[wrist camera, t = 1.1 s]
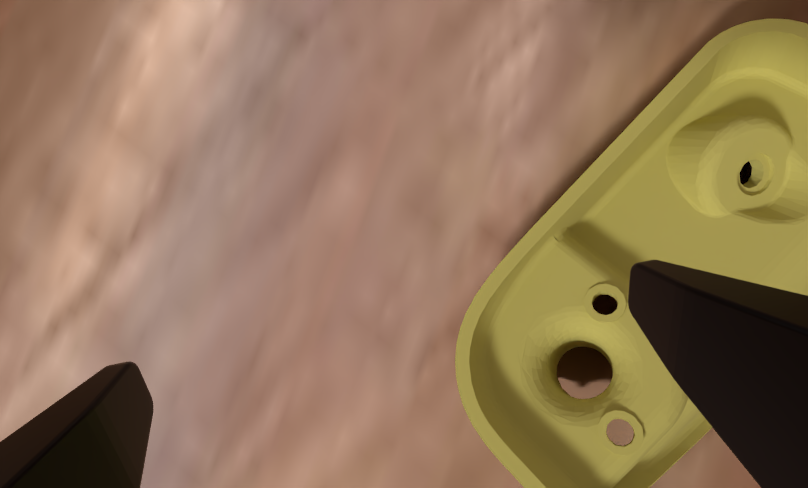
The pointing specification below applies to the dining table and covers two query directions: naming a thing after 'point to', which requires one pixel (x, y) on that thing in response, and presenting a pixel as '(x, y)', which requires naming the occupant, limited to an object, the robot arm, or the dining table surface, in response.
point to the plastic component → (636, 242)
